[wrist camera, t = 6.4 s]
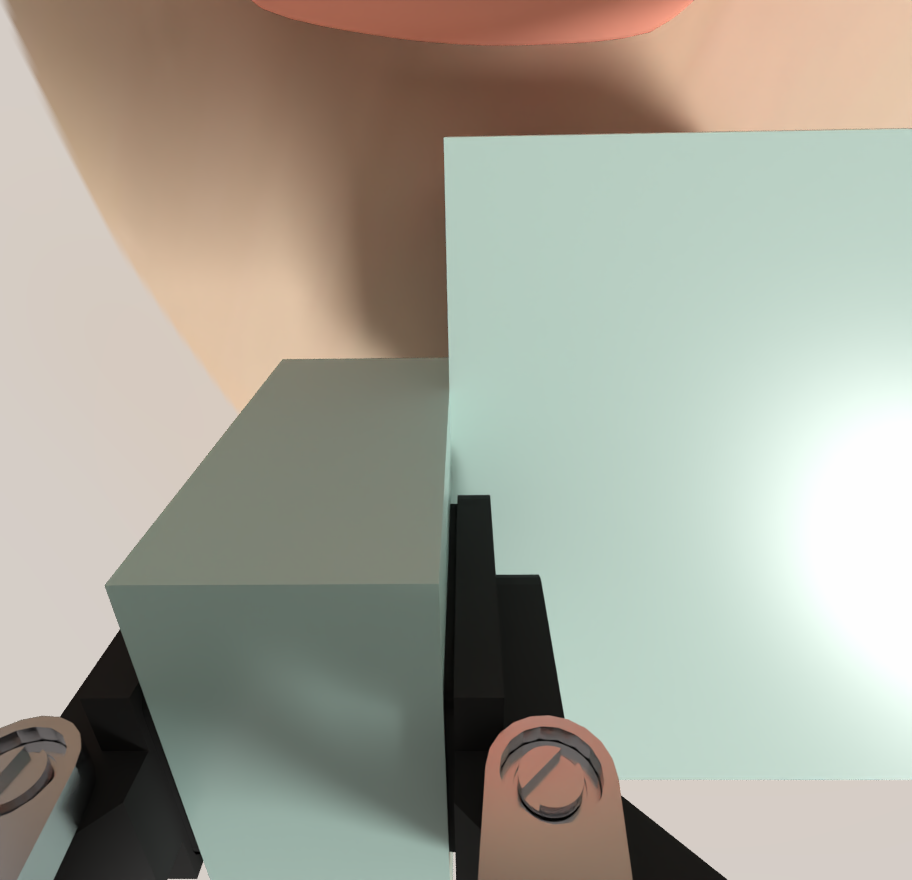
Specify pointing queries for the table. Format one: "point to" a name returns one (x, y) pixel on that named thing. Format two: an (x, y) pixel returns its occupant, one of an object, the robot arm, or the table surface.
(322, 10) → the teapot
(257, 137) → the table surface
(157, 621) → the mint green stepped block
